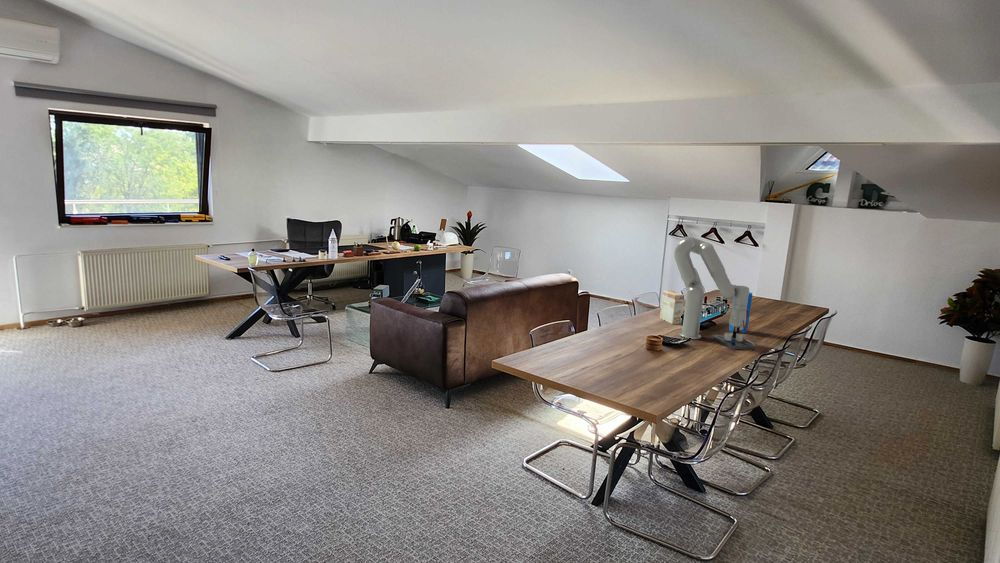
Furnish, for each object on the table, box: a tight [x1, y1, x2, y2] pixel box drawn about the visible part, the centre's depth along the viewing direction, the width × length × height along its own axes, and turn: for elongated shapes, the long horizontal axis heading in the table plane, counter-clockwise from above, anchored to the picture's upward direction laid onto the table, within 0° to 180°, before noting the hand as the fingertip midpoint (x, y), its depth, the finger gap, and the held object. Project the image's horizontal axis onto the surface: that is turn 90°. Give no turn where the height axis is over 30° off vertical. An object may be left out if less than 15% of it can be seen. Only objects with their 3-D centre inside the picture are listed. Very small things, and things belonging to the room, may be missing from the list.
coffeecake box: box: [659, 289, 685, 325], centre depth 367 cm, size 15×7×20 cm, turn 16°
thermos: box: [728, 291, 753, 334], centre depth 352 cm, size 11×11×25 cm
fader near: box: [724, 332, 732, 341], centre depth 322 cm, size 3×2×4 cm
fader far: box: [736, 333, 744, 342], centre depth 322 cm, size 3×2×4 cm
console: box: [710, 332, 756, 350], centre depth 324 cm, size 22×14×4 cm, turn 9°
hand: (735, 337), depth 326 cm, fingers closed
